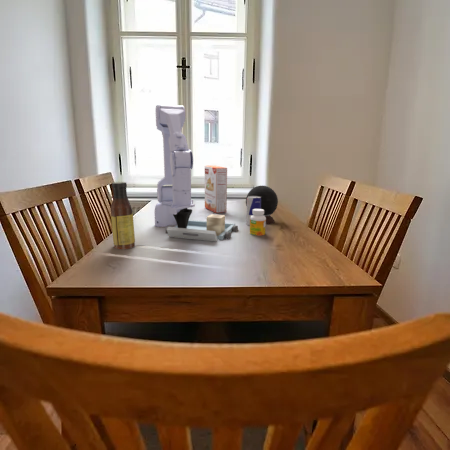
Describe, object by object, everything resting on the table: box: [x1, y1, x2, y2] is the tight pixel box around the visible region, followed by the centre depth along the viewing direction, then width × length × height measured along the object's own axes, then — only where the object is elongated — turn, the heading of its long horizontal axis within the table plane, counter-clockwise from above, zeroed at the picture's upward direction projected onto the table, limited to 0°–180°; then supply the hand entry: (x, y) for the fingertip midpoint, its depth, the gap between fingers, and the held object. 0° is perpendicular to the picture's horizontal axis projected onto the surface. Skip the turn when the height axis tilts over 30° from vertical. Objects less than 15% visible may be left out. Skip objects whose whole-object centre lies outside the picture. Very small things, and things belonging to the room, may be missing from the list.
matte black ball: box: [245, 185, 279, 225], centre depth 141 cm, size 13×13×15 cm
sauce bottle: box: [110, 181, 136, 250], centre depth 101 cm, size 7×6×20 cm
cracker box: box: [204, 165, 228, 214], centre depth 161 cm, size 14×6×21 cm, turn 25°
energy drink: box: [245, 196, 261, 227], centre depth 130 cm, size 5×5×12 cm
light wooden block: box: [206, 213, 226, 236], centre depth 116 cm, size 5×5×6 cm
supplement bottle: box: [249, 209, 267, 237], centre depth 117 cm, size 5×5×10 cm
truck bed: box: [165, 219, 239, 241], centre depth 118 cm, size 22×18×3 cm
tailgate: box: [166, 226, 218, 242], centre depth 109 cm, size 16×2×5 cm
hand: (182, 231), depth 110 cm, fingers closed, pressing on tailgate
